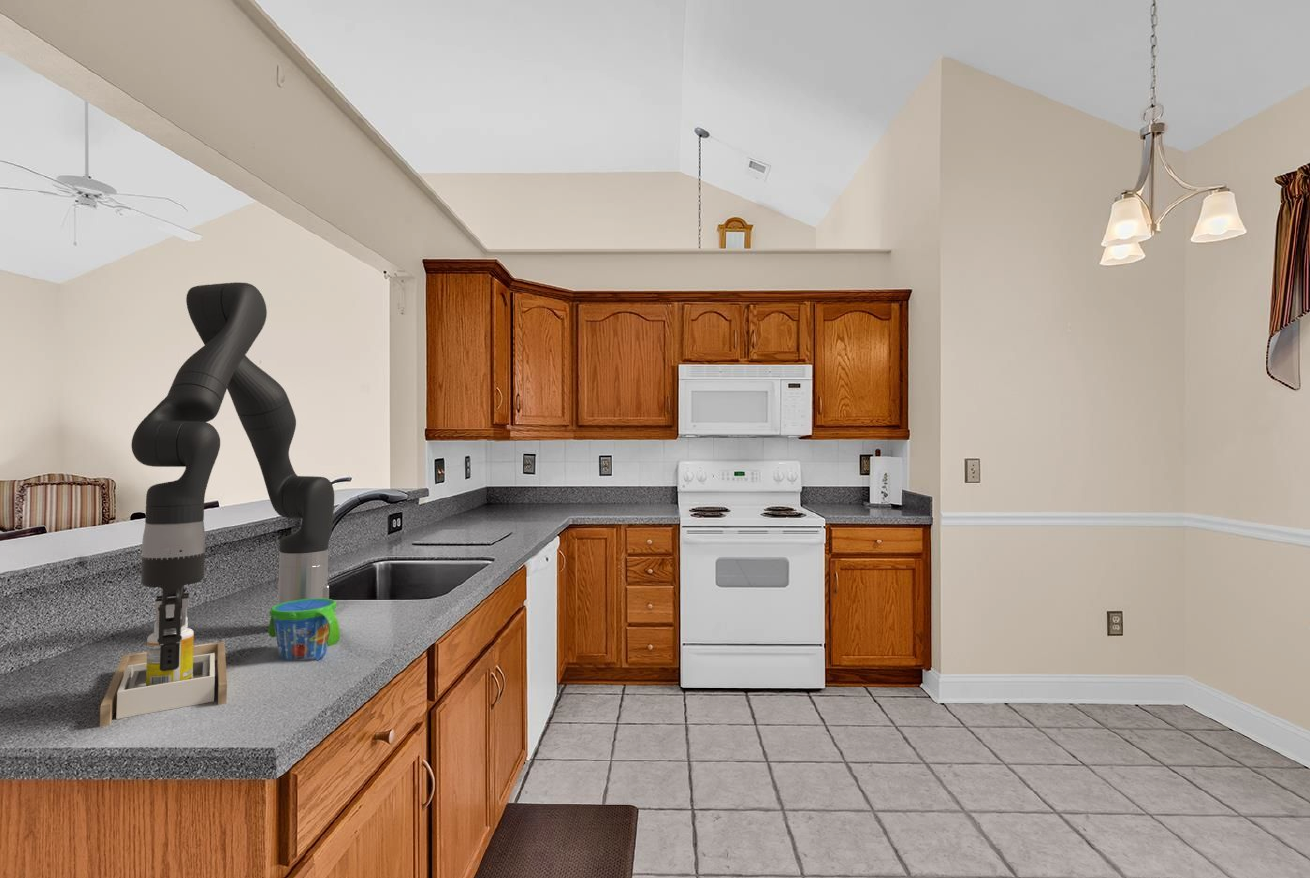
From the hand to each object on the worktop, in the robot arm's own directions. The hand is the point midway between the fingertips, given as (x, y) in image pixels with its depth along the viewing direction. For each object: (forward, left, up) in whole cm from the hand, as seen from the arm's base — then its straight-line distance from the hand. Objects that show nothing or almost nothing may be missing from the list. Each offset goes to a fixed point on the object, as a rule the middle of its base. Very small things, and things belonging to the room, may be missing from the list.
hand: (170, 663), depth 92 cm
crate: (0, -1, -5) cm, 5 cm away
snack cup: (-19, -13, -7) cm, 24 cm away
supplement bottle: (0, 0, -4) cm, 4 cm away
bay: (0, -5, -6) cm, 8 cm away
